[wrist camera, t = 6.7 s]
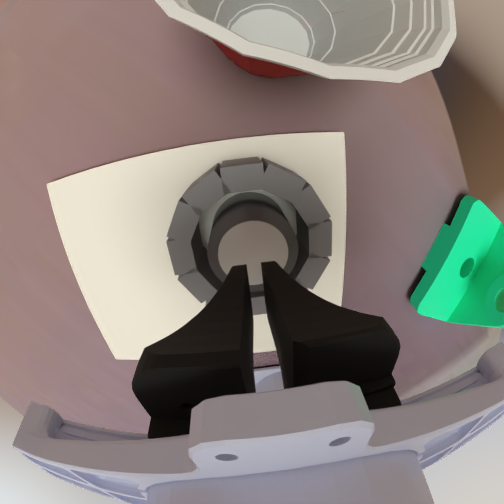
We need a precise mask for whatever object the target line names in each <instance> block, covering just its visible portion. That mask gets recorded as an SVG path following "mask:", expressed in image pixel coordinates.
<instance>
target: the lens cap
mask: <svg viewBox="0 0 504 504" xmlns="http://www.w3.org/2000/svg"><path fill="white" fill-rule="evenodd" d="M207 256H208V261H209V264H210V267H211V269H212V271H213V272H214V274H215V275H216V276H217V277H218V279H219V280H221V281H222V282H224V280H225V278H226V277H227V275H228V273H229V271H230V269H231V267H232V266H236V265H244V264H247V271H248V279H249V286H250V292H257V291H263V290H264V288H263V278H262V269H261V262H269V261H276V262H277V263H278V264H279V265H280V266H281V267H282V268H283V269H284V270H285V271H286V272H287V273H288V274H290V273H291V271H292V270H293V268H294V266H295V264H296V261H297V257H298V242H297V238H296V235H295V233H294V231H293V229H292V227H291V225H290V224H289V222H288V220H287V218H286V217H285V215H284V213H283V211H282V210H281V208H280V207H279V205H278V204H277V203H276V202H275V201H274V200H273V199H271V198H270V197H268V196H266V195H264V194H261V193H256V192H244V193H239V194H236V195H234V196H232V197H230V198H228V199H227V200H226V201H224V202H223V203H222V204H221V206H220V207H219V208H218V210H217V212H216V214H215V216H214V220H213V224H212V228H211V233H210V237H209V242H208V248H207Z"/></svg>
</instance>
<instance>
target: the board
mask: <svg viewBox="0 0 504 504" xmlns="http://www.w3.org/2000/svg"><path fill="white" fill-rule="evenodd" d="M47 188H48V192H49V196H50V200H51V204H52V208H53V212H54V215H55V219H56V222H57V225H58V229H59V232H60V235H61V238H62V241H63V244H64V247H65V250H66V253H67V256H68V258H69V261H70V264H71V266H72V269H73V272H74V274H75V277H76V279H77V282H78V284H79V286H80V289H81V291H82V293H83V296H84V298H85V300H86V302H87V304H88V307H89V309H90V311H91V313H92V315H93V317H94V319H95V321H96V323H97V325H98V327H99V329H100V331H101V333H102V335H103V337H104V339H105V340H106V342H107V344H108V346H109V348H110V349H111V351H112V353H113V355H114V356H115V358H116V359H130V360H139V359H140V357H141V355H142V352H143V350H144V348H145V347H147V346H149V345H151V344H153V343H155V342H157V341H159V340H161V339H163V338H165V337H167V336H169V335H170V334H172V333H173V332H175V331H177V330H178V329H179V328H181V327H182V326H184V325H185V324H186V323H187V322H189V321H190V320H191V319H192V318H194V317H195V316H196V315H197V314H198V313H199V312H200V311H201V310H202V309H203V308H204V307H205V306H206V305H207V304H208V303H209V302H210V300H211V299H212V298H213V296H214V295H215V294H216V292H217V291H218V290H219V288H220V286H221V285H222V283H223V282H222V281H221V280H219V279H218V277H217V276H216V275H215V274H214V272H213V271H212V269H211V267H210V264H209V261H208V256H207V248H208V242H209V237H210V233H211V228H212V224H213V220H214V216H215V214H216V212H217V210H218V208H219V207H220V206H221V204H222V203H223V202H224V201H226V200H227V199H228V198H230V197H232V196H234V195H236V194H239V193H244V192H256V193H261V194H264V195H266V196H268V197H270V198H271V199H273V200H274V201H275V202H276V203H277V204H278V205H279V207H280V208H281V210H282V211H283V213H284V215H285V217H286V218H287V220H288V222H289V224H290V225H291V227H292V229H293V231H294V233H295V235H296V238H297V242H298V257H297V261H296V264H295V266H294V268H293V270H292V271H291V273H290V274H289V275H290V276H291V277H292V278H293V279H294V280H296V281H297V282H298V283H299V284H300V285H302V286H303V287H304V288H306V289H307V290H309V291H310V292H312V293H314V294H315V295H317V296H319V297H321V298H323V299H325V300H327V301H329V302H331V303H333V304H336V305H338V306H341V303H342V292H343V279H344V264H345V243H346V159H345V139H344V132H311V133H290V134H276V135H264V136H254V137H244V138H236V139H228V140H221V141H214V142H207V143H201V144H195V145H189V146H184V147H178V148H173V149H168V150H163V151H158V152H154V153H149V154H145V155H141V156H136V157H132V158H128V159H124V160H121V161H117V162H113V163H110V164H106V165H102V166H99V167H96V168H92V169H89V170H86V171H83V172H80V173H76V174H73V175H70V176H67V177H65V178H62V179H59V180H56V181H53V182H51V183H48V184H47ZM250 294H251V301H252V310H253V319H254V336H253V353H259V352H267V351H274V350H276V347H275V344H274V340H273V337H272V333H271V329H270V326H269V322H268V319H267V312H266V305H265V298H264V290H263V291H257V292H250Z"/></svg>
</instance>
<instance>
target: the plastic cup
mask: <svg viewBox="0 0 504 504" xmlns="http://www.w3.org/2000/svg"><path fill="white" fill-rule="evenodd" d="M155 1H156V2H157V3H158V4H159V6H160V7H161V8H162V9H163V10H164V11H165V13H166V14H167V15H168V16H169V17H170V18H172V19H173V20H175V21H177V22H179V23H181V24H183V25H186V26H188V27H190V28H192V29H194V30H196V31H198V32H200V33H202V34H204V35H206V36H207V37H209V38H211V39H212V40H213V41H214V42H215V43H216V45H217V46H218V47H219V48H220V49H221V50H222V52H223V53H224V54H225V55H226V56H227V58H228V59H230V60H232V61H233V62H234V63H235V64H236V65H237V66H239V67H241V68H242V69H244V70H246V71H247V72H249V73H250V74H254V75H259V76H263V77H267V78H274V77H284V76H296V75H305V74H312V75H315V76H318V77H321V78H324V79H354V80H373V81H386V82H395V83H401V82H403V81H405V80H408V79H410V78H412V77H415V76H417V75H420V74H422V73H425V72H427V71H430V70H432V69H435V68H437V67H440V66H441V64H442V62H443V60H444V59H445V57H446V55H447V53H448V51H449V50H450V48H451V46H452V44H453V42H454V40H455V38H456V21H455V12H454V1H453V0H155Z"/></svg>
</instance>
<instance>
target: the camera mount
mask: <svg viewBox="0 0 504 504" xmlns="http://www.w3.org/2000/svg"><path fill="white" fill-rule="evenodd" d="M422 267H423V268H424V269H425V270H426V272H425V274H424V276H423V277H422V279H421V281H420V282H419V284H418V286H417V287H416V289H415V291H414V292H413V294H412V296H411V298H410V303H411V304H412V306H413V307H414V308H415V309H416V311H417V312H418V313H419V314H421V315H424V316H428V317H432V318H435V319H439V320H443V321H446V322H450V323H455V324H464V325H474V326H484V327H495V328H504V225H503V224H502V223H501V222H500V220H499V219H498V218H497V217H496V216H495V215H494V214H493V213H492V212H491V211H490V210H489V209H488V208H487V207H486V206H485V204H483V202H481V201H480V200H478V199H476V198H474V197H472V196H469V195H466V196H464V197H463V199H462V200H461V202H460V205H459V207H458V209H457V212H456V214H455V216H454V218H453V220H452V223H451V225H450V226H449V225H447V224H445V223H443V226H442V228H441V230H440V232H439V234H438V236H437V238H436V240H435V242H434V244H433V246H432V248H431V249H430V251H429V253H428V255H427V257H426V259H425V261H424V262H423V264H422Z"/></svg>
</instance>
